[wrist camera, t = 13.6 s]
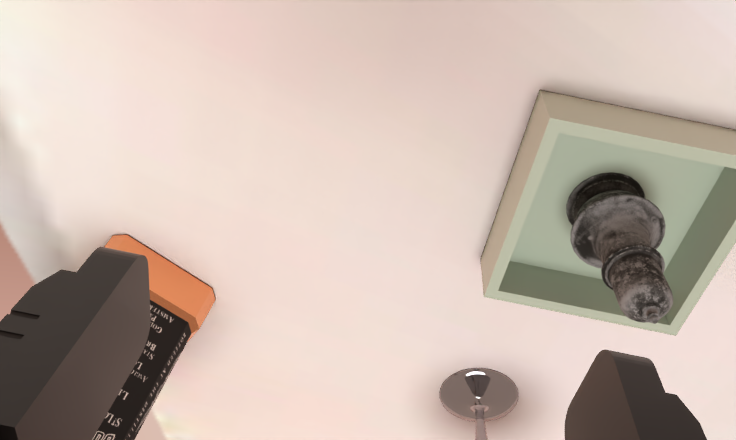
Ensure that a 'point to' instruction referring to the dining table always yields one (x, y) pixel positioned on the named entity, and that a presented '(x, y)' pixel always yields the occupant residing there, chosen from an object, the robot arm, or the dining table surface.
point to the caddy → (604, 155)
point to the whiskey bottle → (156, 339)
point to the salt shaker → (622, 242)
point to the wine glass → (479, 396)
